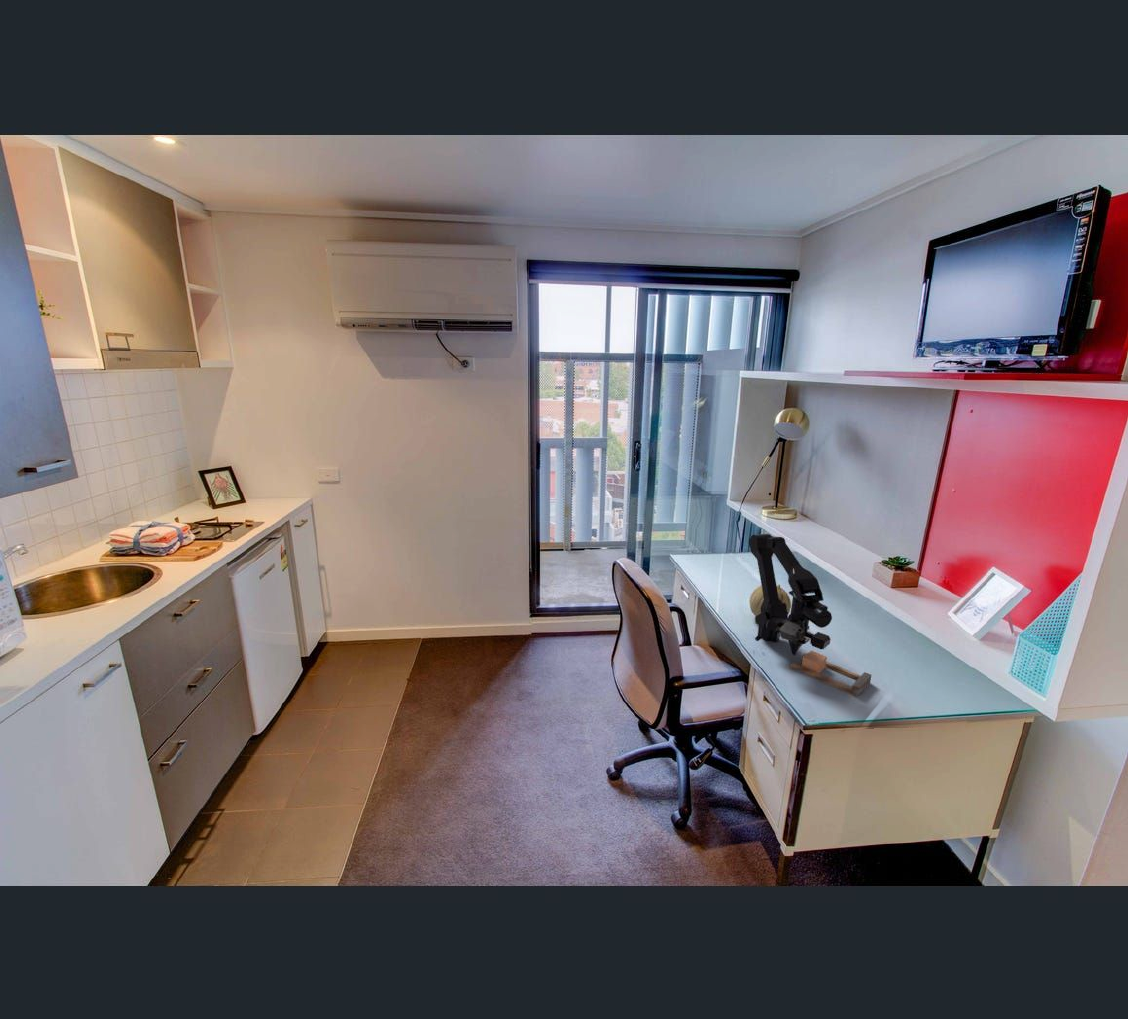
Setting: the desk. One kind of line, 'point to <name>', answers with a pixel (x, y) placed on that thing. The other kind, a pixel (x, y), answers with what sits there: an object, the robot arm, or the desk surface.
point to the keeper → (814, 661)
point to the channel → (856, 687)
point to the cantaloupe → (758, 599)
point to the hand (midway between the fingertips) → (794, 654)
